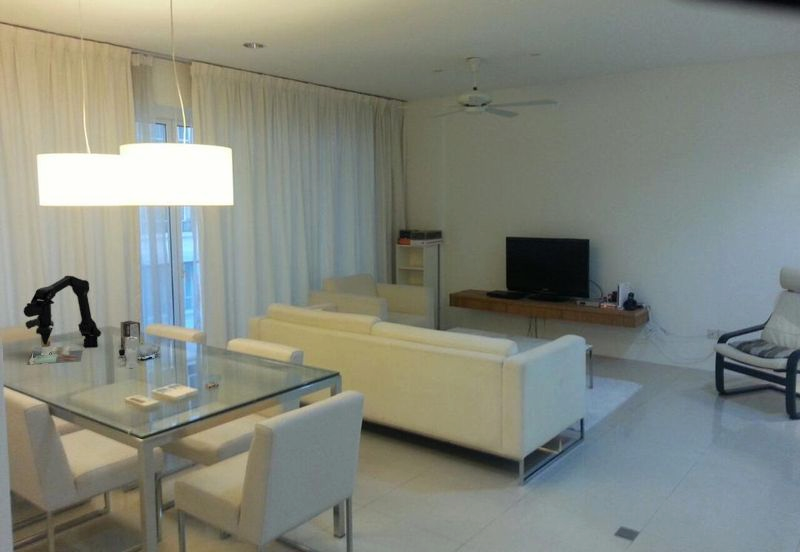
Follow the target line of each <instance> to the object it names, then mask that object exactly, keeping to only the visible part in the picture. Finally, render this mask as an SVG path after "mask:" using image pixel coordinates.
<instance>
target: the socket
mask: <svg viewBox="0 0 800 552" xmlns="http://www.w3.org/2000/svg"><path fill="white" fill-rule="evenodd" d="M62 358H74V359H62ZM62 361H76V355H73V356H61V357H60V362H62Z"/></svg>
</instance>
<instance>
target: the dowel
mask: <svg viewBox="0 0 800 552" xmlns="http://www.w3.org/2000/svg"><path fill="white" fill-rule="evenodd" d="M40 345H41V346H40V347H41V348H48V347H51V336H50V337H49V339H48V342H47V344H46V345H44V343H43V340H42V336H41V335H40Z"/></svg>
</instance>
